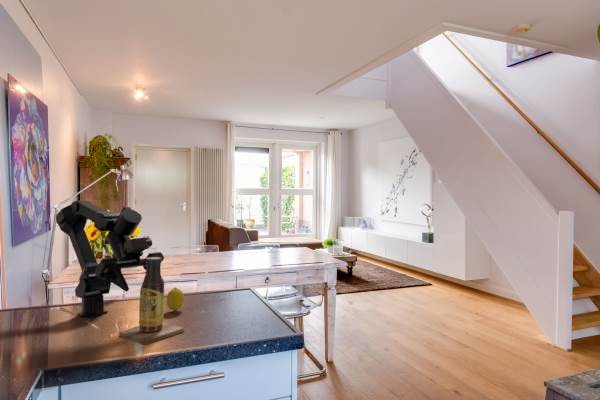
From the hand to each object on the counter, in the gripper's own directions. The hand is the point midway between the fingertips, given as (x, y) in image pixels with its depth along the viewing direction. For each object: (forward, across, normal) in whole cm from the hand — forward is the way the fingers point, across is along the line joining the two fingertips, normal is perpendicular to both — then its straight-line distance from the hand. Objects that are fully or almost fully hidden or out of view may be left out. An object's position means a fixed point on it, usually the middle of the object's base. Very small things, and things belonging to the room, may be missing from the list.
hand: (143, 287), depth 106 cm
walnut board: (+12, 0, +5) cm, 13 cm away
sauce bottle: (+11, 0, +5) cm, 12 cm away
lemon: (+3, +17, +15) cm, 23 cm away
